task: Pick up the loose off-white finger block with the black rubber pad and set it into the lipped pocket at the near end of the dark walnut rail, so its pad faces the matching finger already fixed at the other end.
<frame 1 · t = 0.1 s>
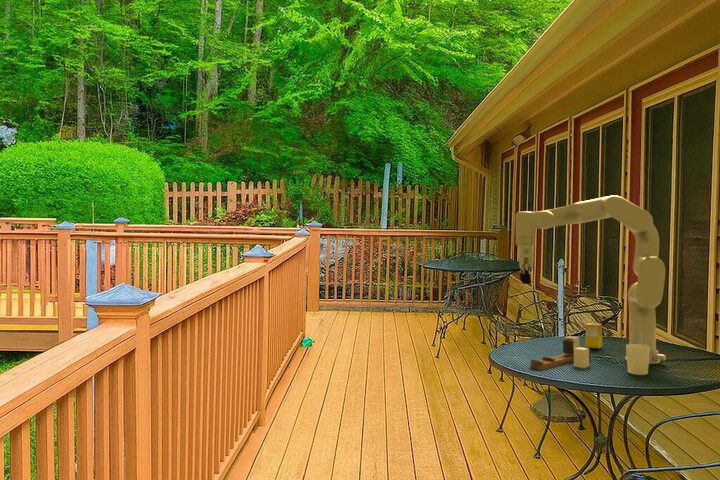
hand: (525, 282, 244), 31 cm above the table, tool pointing down, fingers open, 9 cm apart
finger: (581, 366, 228), on the table
supplement box: (593, 348, 262), on the table
rail: (557, 363, 234), on the table
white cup: (637, 373, 217), on the table
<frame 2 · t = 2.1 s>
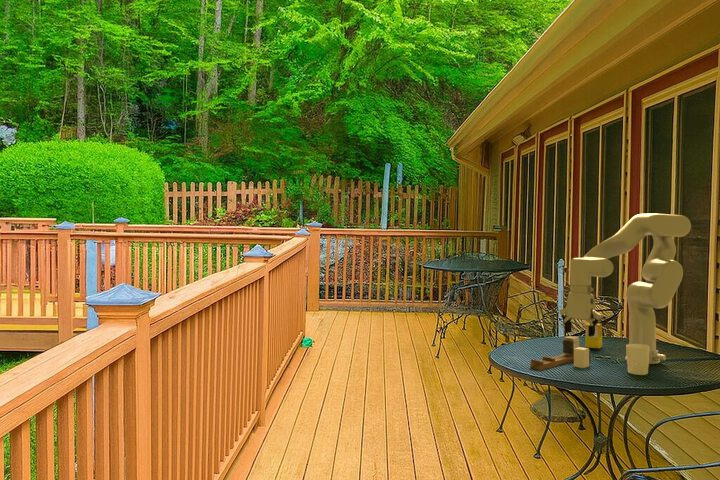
hand: (579, 334, 228), 13 cm above the table, tool pointing down, fingers open, 9 cm apart
nothing on the table moved.
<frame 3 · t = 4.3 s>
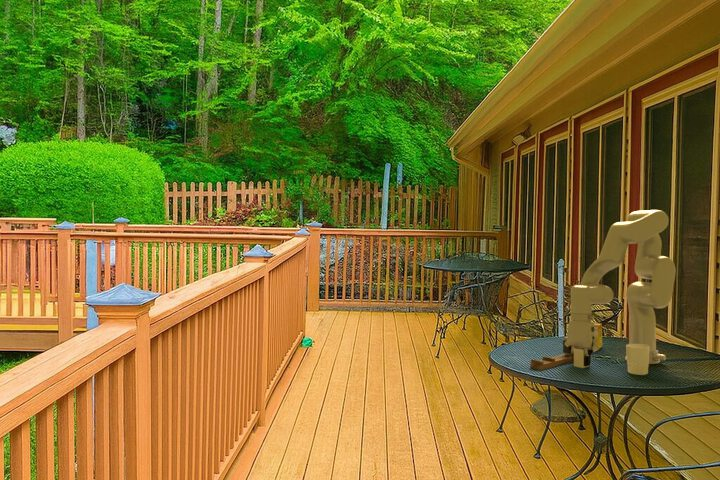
hand: (581, 364, 228), 1 cm above the table, tool pointing down, fingers closed on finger, 4 cm apart
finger: (581, 366, 228), on the table, touching gripper
everything else where it was.
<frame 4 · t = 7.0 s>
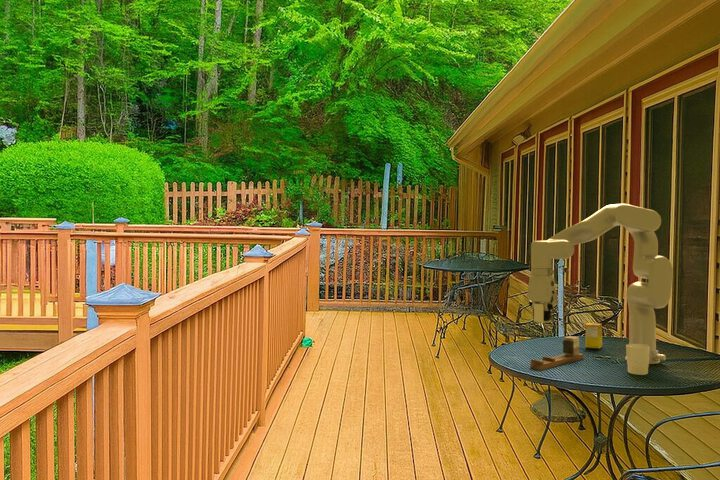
hand: (541, 319, 227), 18 cm above the table, tool pointing down, fingers closed on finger, 4 cm apart
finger: (541, 321, 227), point 18 cm above the table, touching gripper
everything else where it was.
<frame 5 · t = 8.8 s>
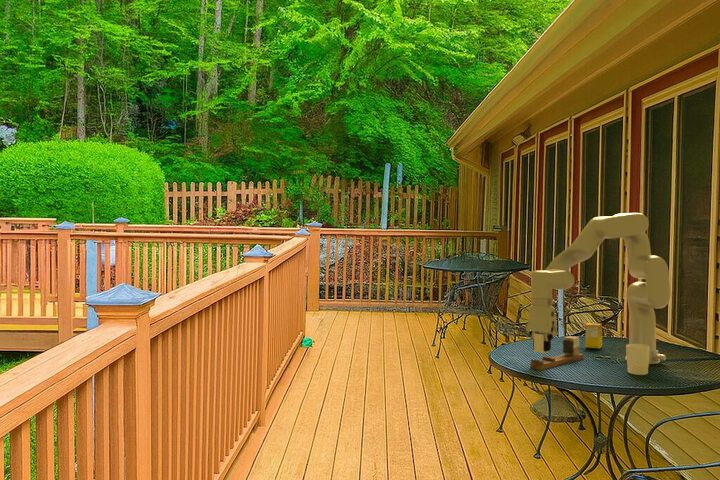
hand: (541, 349, 227), 7 cm above the table, tool pointing down, fingers closed on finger, 4 cm apart
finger: (541, 351, 227), point 6 cm above the table, touching gripper
everything else where it was.
when the fingers open (4 cm above the table, at t = 10.2 s): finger drops 1 cm, resting on rail.
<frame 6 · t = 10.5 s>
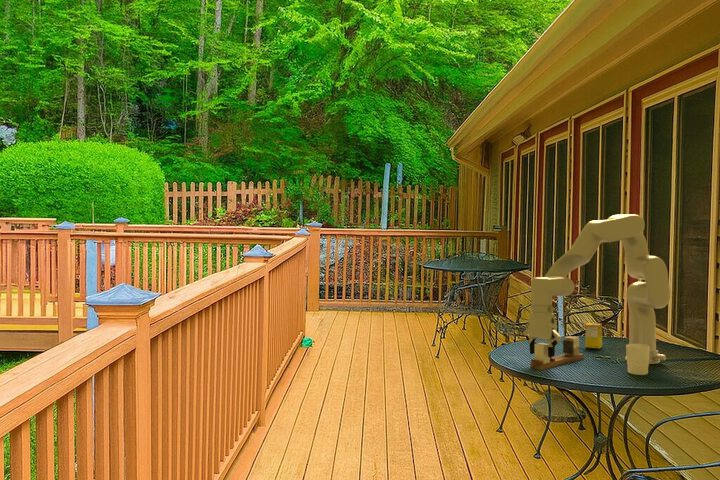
hand: (542, 354, 227), 5 cm above the table, tool pointing down, fingers open, 7 cm apart
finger: (542, 362, 227), point 2 cm above the table, touching rail
everything else where it was.
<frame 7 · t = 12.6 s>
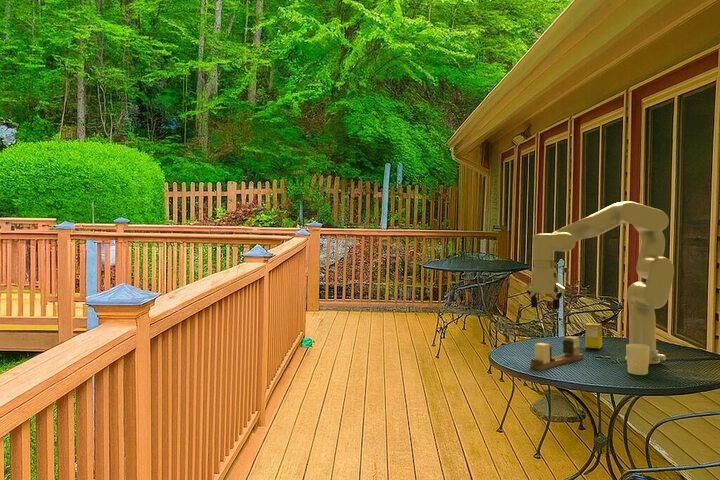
hand: (545, 308, 233), 22 cm above the table, tool pointing down, fingers open, 9 cm apart
nothing on the table moved.
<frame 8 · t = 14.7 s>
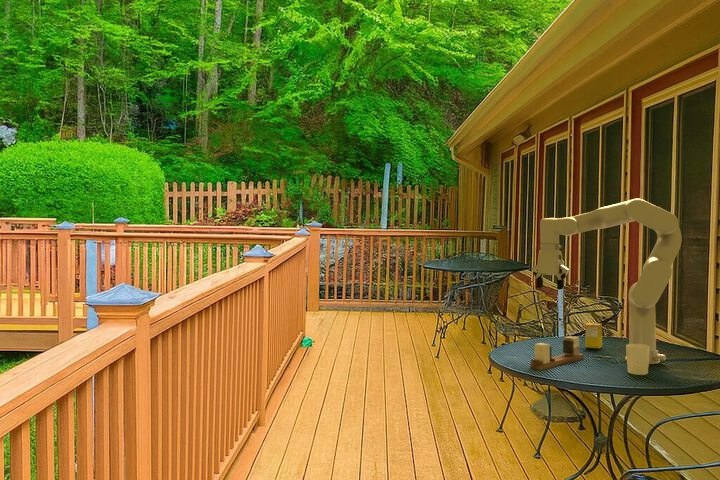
hand: (550, 288, 247), 28 cm above the table, tool pointing down, fingers open, 9 cm apart
nothing on the table moved.
at the end: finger 0.1 cm from the target spot on the rail, point 2.0 cm above the rail's base; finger tilted 0°; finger touching rail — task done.
